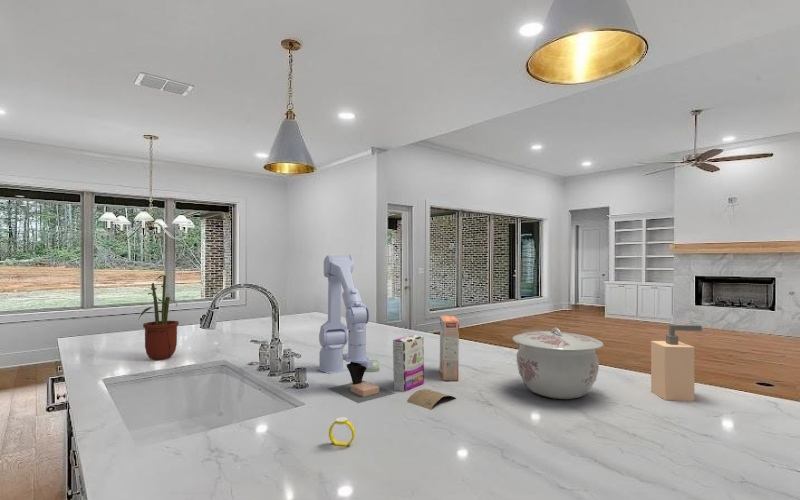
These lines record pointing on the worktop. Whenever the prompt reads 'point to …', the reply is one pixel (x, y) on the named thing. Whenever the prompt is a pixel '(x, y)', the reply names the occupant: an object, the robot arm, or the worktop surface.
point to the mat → (346, 392)
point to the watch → (341, 421)
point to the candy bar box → (408, 362)
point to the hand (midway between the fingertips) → (357, 386)
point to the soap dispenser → (673, 366)
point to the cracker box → (449, 348)
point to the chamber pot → (557, 363)
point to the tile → (364, 389)
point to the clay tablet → (426, 398)
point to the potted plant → (160, 329)
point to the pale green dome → (374, 368)
